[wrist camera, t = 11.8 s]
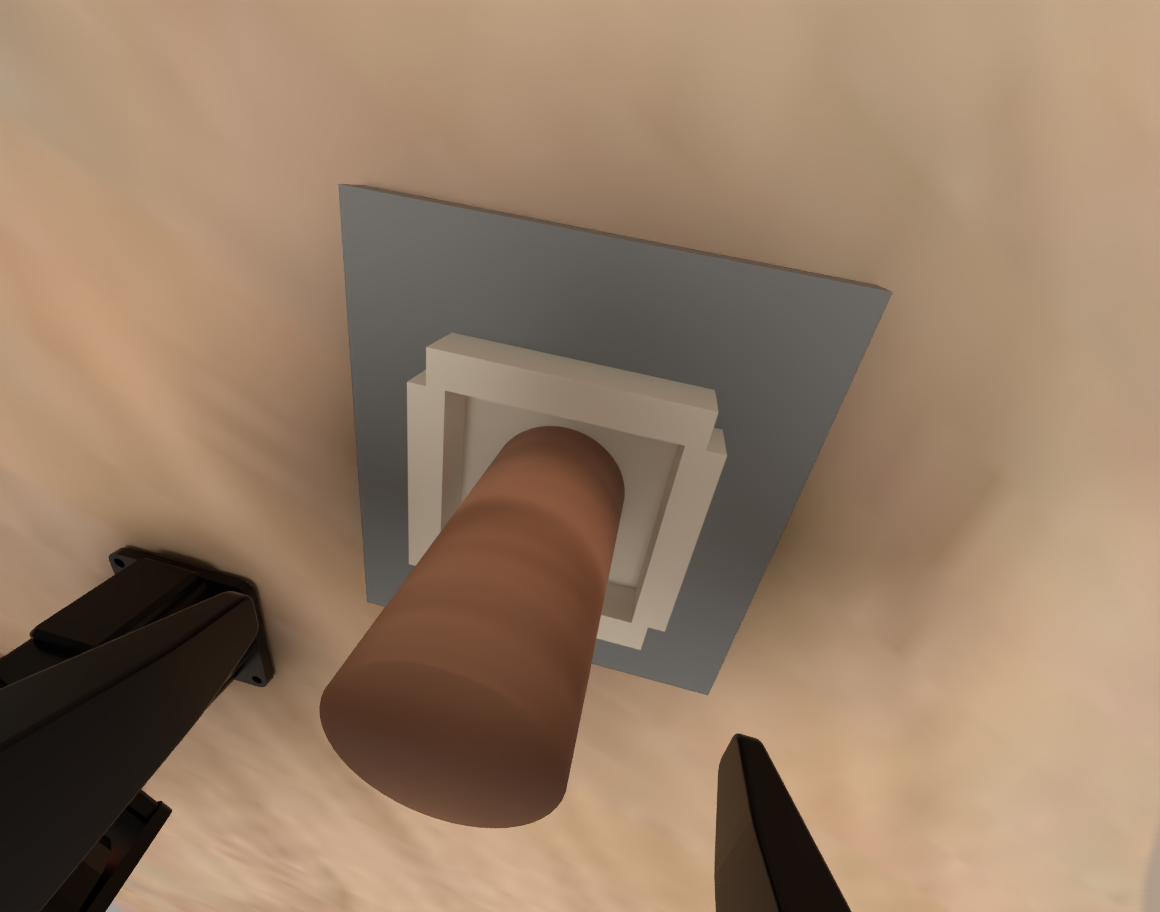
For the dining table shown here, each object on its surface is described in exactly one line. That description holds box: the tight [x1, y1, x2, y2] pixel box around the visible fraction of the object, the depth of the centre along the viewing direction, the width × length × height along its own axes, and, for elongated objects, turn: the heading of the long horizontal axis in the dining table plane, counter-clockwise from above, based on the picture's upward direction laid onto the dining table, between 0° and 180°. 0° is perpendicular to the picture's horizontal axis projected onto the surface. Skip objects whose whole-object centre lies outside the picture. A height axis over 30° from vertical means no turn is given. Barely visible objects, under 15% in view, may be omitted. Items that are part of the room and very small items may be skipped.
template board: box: [338, 184, 892, 695], centre depth 14 cm, size 14×13×2 cm
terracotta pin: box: [320, 426, 625, 828], centre depth 11 cm, size 4×4×8 cm
